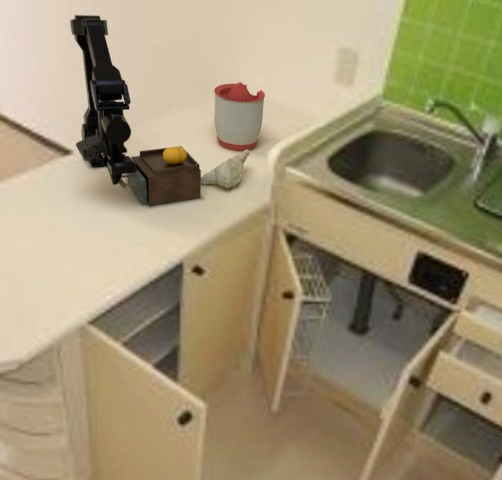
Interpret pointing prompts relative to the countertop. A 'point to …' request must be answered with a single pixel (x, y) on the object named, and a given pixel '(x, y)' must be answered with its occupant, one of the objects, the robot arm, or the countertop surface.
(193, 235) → the countertop surface
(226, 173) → the white conch shell
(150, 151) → the dark brown shallow tray
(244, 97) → the citrus juicer
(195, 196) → the cabinet
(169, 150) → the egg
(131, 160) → the robot arm
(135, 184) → the drawer
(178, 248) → the countertop surface
